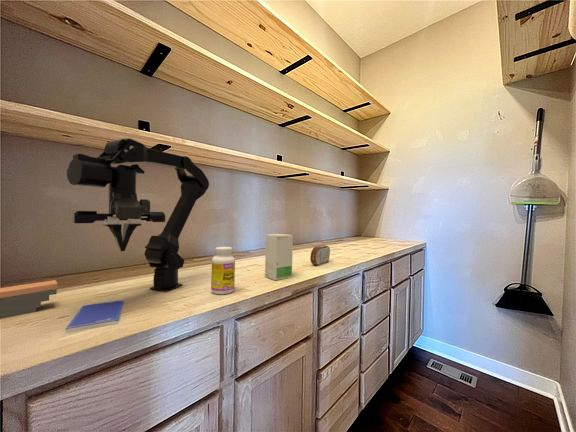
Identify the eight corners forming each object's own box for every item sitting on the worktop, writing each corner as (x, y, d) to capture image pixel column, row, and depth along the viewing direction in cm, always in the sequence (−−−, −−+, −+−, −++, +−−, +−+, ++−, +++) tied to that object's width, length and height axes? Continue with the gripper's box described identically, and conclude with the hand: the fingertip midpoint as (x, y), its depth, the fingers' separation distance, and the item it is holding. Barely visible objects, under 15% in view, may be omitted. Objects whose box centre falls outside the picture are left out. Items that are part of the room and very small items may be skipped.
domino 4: (36, 302, 58) (-33, 315, 51) (36, 308, 55) (-37, 321, 47) (36, 307, 58) (-33, 320, 51) (36, 313, 55) (-37, 327, 47)
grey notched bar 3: (49, 290, 59) (-16, 300, 52) (49, 295, 56) (-20, 306, 49) (49, 295, 59) (-16, 306, 52) (49, 300, 56) (-20, 312, 49)
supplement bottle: (222, 296, 66) (223, 250, 66) (206, 292, 70) (206, 248, 69) (239, 290, 72) (239, 247, 72) (223, 286, 75) (223, 245, 75)
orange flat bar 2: (55, 284, 60) (-8, 294, 53) (56, 288, 57) (-11, 299, 50) (55, 289, 60) (-8, 299, 53) (56, 294, 57) (-11, 305, 50)
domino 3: (41, 297, 58) (-27, 308, 51) (40, 302, 55) (-32, 314, 48) (41, 301, 58) (-27, 313, 51) (40, 307, 55) (-32, 320, 48)
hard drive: (118, 319, 49) (124, 299, 60) (65, 327, 45) (82, 305, 56) (117, 326, 49) (124, 306, 60) (65, 335, 45) (82, 312, 56)
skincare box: (275, 281, 82) (275, 235, 82) (263, 277, 87) (264, 234, 87) (293, 277, 88) (293, 234, 87) (281, 273, 92) (282, 233, 92)
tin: (325, 261, 118) (325, 243, 118) (330, 261, 117) (331, 244, 116) (309, 266, 106) (309, 247, 106) (315, 267, 104) (316, 247, 104)
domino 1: (55, 280, 60) (-8, 289, 53) (57, 283, 57) (-10, 293, 50) (55, 284, 60) (-8, 294, 53) (57, 288, 57) (-10, 299, 50)
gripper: (76, 183, 48) (76, 260, 49) (173, 190, 62) (172, 251, 62) (72, 187, 56) (72, 253, 57) (158, 192, 70) (158, 246, 70)
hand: (122, 251), depth 61 cm, fingers closed
